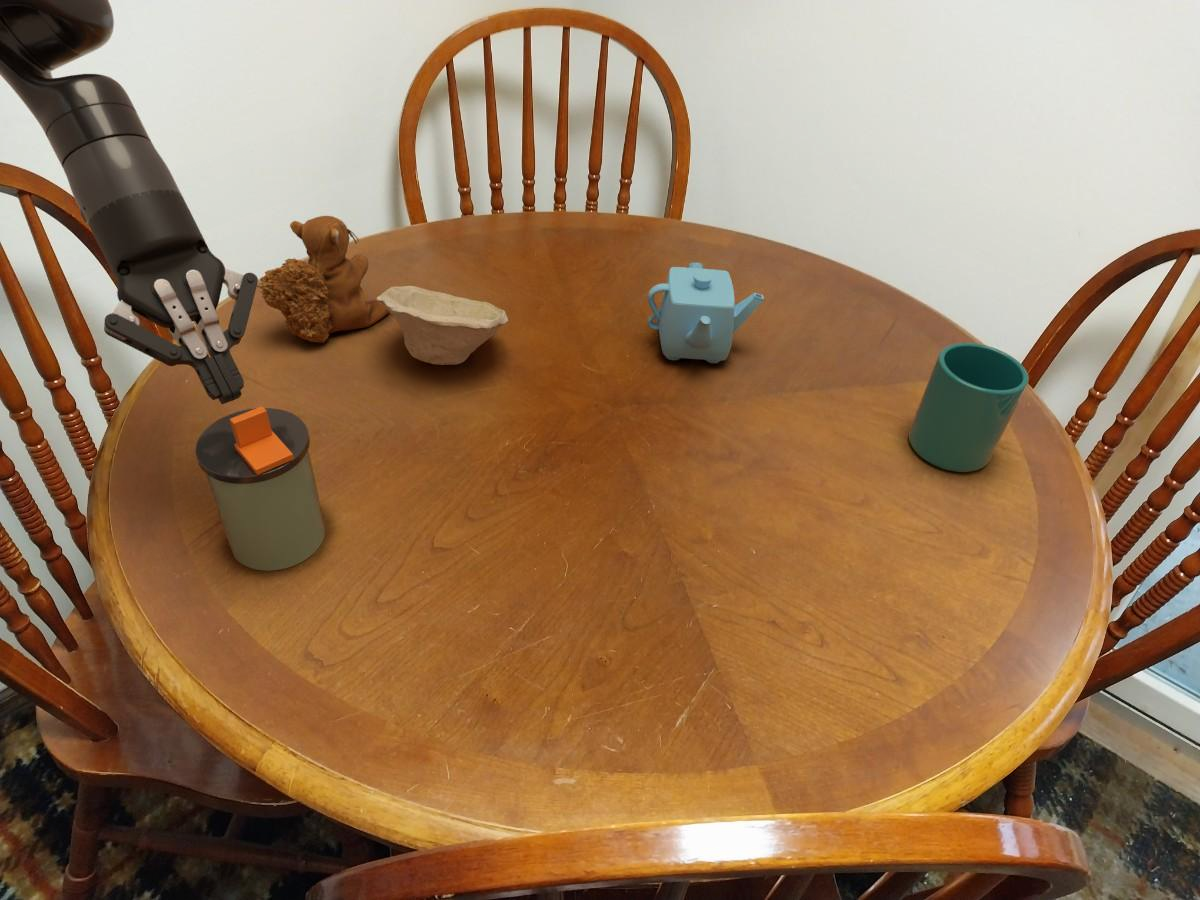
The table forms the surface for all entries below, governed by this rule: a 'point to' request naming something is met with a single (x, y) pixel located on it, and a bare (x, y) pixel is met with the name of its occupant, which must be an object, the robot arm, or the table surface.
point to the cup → (967, 406)
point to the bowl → (441, 323)
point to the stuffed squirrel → (322, 284)
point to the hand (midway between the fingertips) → (232, 399)
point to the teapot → (698, 313)
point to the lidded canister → (264, 495)
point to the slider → (258, 441)
